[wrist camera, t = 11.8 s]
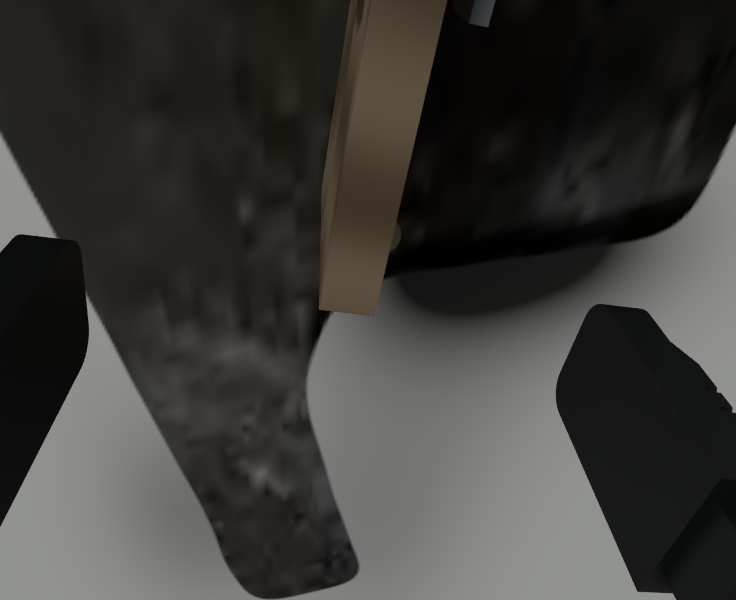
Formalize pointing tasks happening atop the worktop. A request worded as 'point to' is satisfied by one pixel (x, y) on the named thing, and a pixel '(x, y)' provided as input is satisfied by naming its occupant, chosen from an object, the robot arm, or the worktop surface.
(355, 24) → the walnut door
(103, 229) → the worktop surface
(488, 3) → the slate cabinet
